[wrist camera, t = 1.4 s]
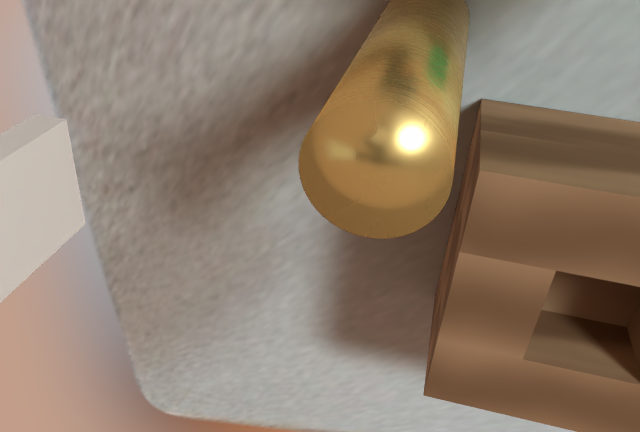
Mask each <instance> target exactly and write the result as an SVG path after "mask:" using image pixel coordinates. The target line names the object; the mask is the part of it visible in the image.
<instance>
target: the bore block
mask: <svg viewBox="0 0 640 432" xmlns="http://www.w3.org/2000/svg"><path fill="white" fill-rule="evenodd" d="M424 396H429V397H433V398H437V399H441V400H446V401H450V402H454V403H458V404H462V405H467V406H471V407H475V408H479V409H484V410H488V411H492V412H496V413H501V414H505V415H509V416H513V417H518V418H522V419H526V420H530V421H534V422H539V423H543V424H547V425H551V426H556V427H560V428H564V429H568V430H573V431H577V432H640V122H634V121H627V120H621V119H614V118H607V117H600V116H594V115H587V114H580V113H574V112H567V111H560V110H554V109H547V108H540V107H533V106H527V105H520V104H513V103H507V102H500V101H493V100H487V99H481V103H480V108H479V112H478V116H477V120H476V125H475V129H474V133H473V137H472V142H471V146H470V150H469V155H468V159H467V163H466V167H465V172H464V176H463V180H462V185H461V189H460V193H459V197H458V202H457V206H456V210H455V214H454V219H453V223H452V227H451V232H450V236H449V240H448V244H447V249H446V253H445V257H444V262H443V266H442V270H441V274H440V279H439V283H438V287H437V291H436V296H435V301H434V310H433V318H432V327H431V336H430V344H429V353H428V361H427V370H426V378H425V387H424Z"/></svg>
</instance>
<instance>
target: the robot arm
mask: <svg viewBox="0 0 640 432" xmlns="http://www.w3.org/2000/svg"><path fill="white" fill-rule="evenodd" d="M84 225H85V219H84V213H83V208H82V203H81V197H80V192H79V186H78V181H77V176H76V170H75V165H74V159H73V154H72V148H71V143H70V138H69V132H68V127H67V121H66V119H61V118H55V117H49V116H43V115H38V114H34V115H32V116H31V117H29V118H27V119H25V120H24V121H22V122H20V123H18V124H17V125H15V126H13V127H11V128H10V129H8V130H6V131H5V132H3V133H1V134H0V303H1V302H2V301H3V300H4V299H5V298H6V297H7V296H8V295H9V294H10V293H11V292H13V291H14V290H15V289H16V288H17V287H18V286H19V285H20V284H21V283H22V282H23V281H24V280H26V279H27V278H28V277H29V276H30V275H31V274H32V273H33V272H34V271H35V270H36V269H37V268H39V267H40V266H41V265H42V264H43V263H44V262H45V261H46V260H47V259H48V258H49V257H50V256H52V255H53V254H54V253H55V252H56V251H57V250H58V249H59V248H60V247H61V246H62V245H63V244H64V243H66V242H67V241H68V240H69V239H70V238H71V237H72V236H73V235H74V234H75V233H76V232H77V231H79V229H81V228H82V227H83V226H84Z"/></svg>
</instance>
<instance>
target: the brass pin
mask: <svg viewBox="0 0 640 432" xmlns="http://www.w3.org/2000/svg"><path fill="white" fill-rule="evenodd" d="M468 29H469V10H468V7H467V4H466V1H465V0H390V2H389V3H388V5H387V7H386V8H385V10H384V11H383V13H382V15H381V16H380V18H379V19H378V21H377V23H376V24H375V26H374V27H373V29H372V30H371V32H370V34H369V35H368V37H367V38H366V40H365V42H364V43H363V45H362V46H361V48H360V50H359V51H358V53H357V54H356V56H355V58H354V59H353V61H352V62H351V64H350V66H349V67H348V69H347V70H346V72H345V74H344V75H343V77H342V78H341V80H340V82H339V83H338V85H337V86H336V88H335V90H334V91H333V93H332V94H331V96H330V97H329V99H328V101H327V102H326V104H325V105H324V107H323V109H322V110H321V112H320V113H319V115H318V117H317V118H316V120H315V121H314V123H313V125H312V126H311V128H310V129H309V131H308V133H307V134H306V136H305V138H304V140H303V143H302V146H301V149H300V154H299V174H300V179H301V183H302V186H303V188H304V191H305V193H306V195H307V197H308V198H309V200H310V202H311V203H312V204H313V206H314V207H315V208H316V209H317V211H318V212H319V213H320V214H321V215H322V216H323V217H325V218H326V219H327V220H328V221H330V222H331V223H333V224H334V225H336V226H337V227H339V228H341V229H343V230H345V231H347V232H350V233H353V234H355V235H359V236H363V237H369V238H381V239H385V238H395V237H400V236H404V235H407V234H410V233H413V232H415V231H417V230H419V229H421V228H422V227H424V226H426V225H427V224H428V223H430V222H431V221H432V220H433V219H434V218H435V217H436V216H437V215H438V214H439V213H440V212H441V210H442V209H443V207H444V206H445V204H446V202H447V200H448V198H449V195H450V192H451V189H452V183H453V175H454V165H455V155H456V146H457V136H458V126H459V117H460V107H461V97H462V88H463V78H464V68H465V58H466V49H467V39H468Z"/></svg>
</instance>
